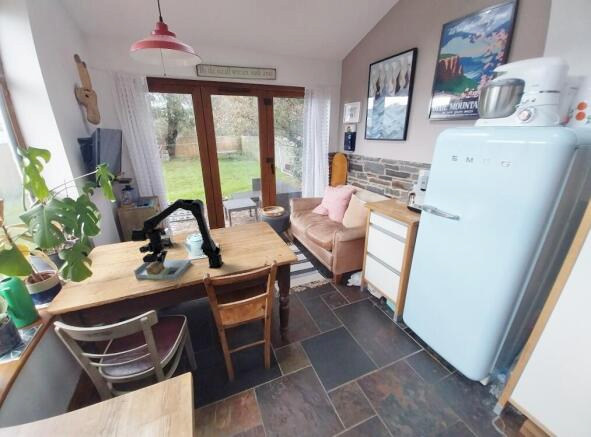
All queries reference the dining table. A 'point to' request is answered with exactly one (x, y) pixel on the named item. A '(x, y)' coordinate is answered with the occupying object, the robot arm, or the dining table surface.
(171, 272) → the box
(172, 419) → the dining table surface
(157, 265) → the walnut block
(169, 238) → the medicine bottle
